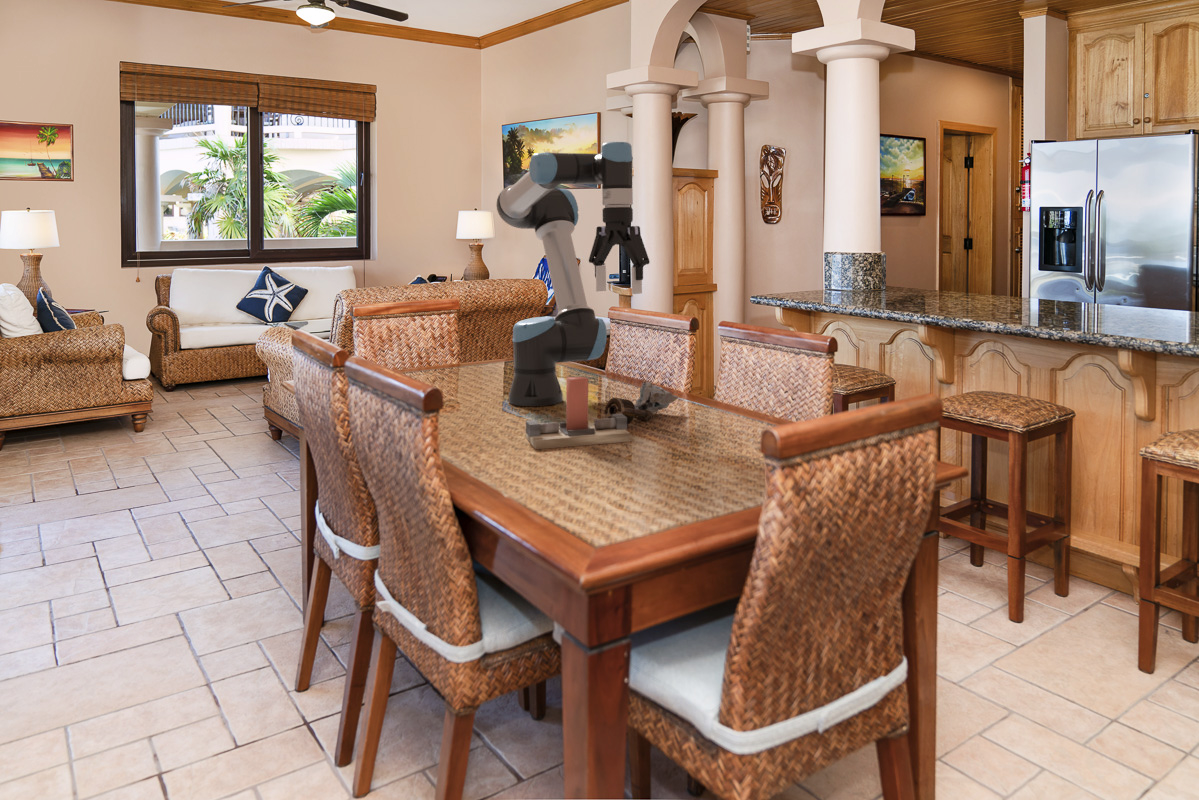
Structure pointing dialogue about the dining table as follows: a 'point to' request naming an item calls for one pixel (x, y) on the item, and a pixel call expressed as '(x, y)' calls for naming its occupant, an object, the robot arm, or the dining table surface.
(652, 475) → the dining table surface
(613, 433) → the beige and grey fixture
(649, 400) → the mineral specimen
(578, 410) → the red tall block
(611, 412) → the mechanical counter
